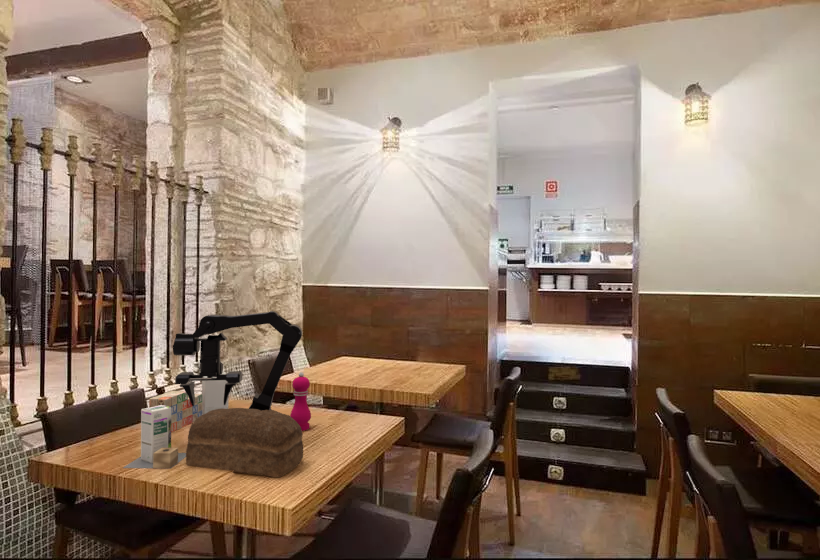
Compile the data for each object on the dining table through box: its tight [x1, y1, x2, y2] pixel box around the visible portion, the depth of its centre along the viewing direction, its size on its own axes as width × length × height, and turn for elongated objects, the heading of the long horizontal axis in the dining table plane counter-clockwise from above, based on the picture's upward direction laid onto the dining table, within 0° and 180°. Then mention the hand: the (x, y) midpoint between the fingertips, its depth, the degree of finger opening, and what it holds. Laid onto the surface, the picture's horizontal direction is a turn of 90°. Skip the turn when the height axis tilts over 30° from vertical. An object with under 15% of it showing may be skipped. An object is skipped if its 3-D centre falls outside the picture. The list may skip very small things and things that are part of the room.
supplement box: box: [201, 373, 230, 415], centre depth 186 cm, size 9×9×15 cm
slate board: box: [122, 452, 186, 470], centre depth 134 cm, size 13×12×1 cm
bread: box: [185, 407, 304, 478], centre depth 134 cm, size 15×32×16 cm, turn 76°
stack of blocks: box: [148, 390, 203, 433], centre depth 170 cm, size 21×6×12 cm, turn 171°
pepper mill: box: [289, 371, 312, 432], centre depth 167 cm, size 7×7×20 cm
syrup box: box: [140, 405, 172, 463], centre depth 135 cm, size 6×6×14 cm
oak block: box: [152, 447, 179, 469], centre depth 130 cm, size 4×4×4 cm
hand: (209, 405), depth 147 cm, fingers open, 9 cm apart
